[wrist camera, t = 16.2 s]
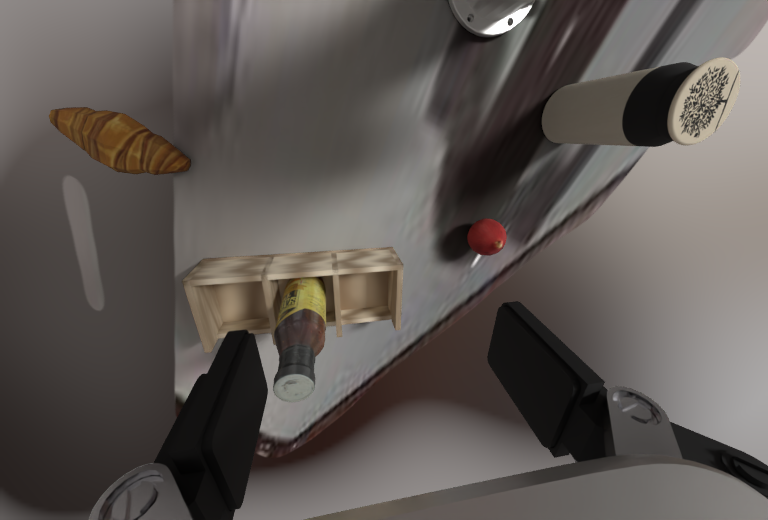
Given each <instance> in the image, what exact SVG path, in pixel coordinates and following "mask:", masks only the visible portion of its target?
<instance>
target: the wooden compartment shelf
mask: <svg viewBox="0 0 768 520" xmlns="http://www.w3.org/2000/svg"><path fill="white" fill-rule="evenodd" d="M315 276H320V277H321V278H322V279H323V281H324V284H325V288H326V326H335V325H336V329H337V337H342V325H344V324H353V323H362V322H372V321H381V320H390V319H392V322H393V325H394V328H395V330H400V327H401V304H402V282H403V263H402V262H401V260H400V259H399V257H398V255H397V254H396V252H395V250H394V249H393V247H387V248H371V249H355V250H338V251H322V252H306V253H290V254H274V255H258V256H241V257H225V258H209V259H203V260H202V261H201V262H200V263H199V264H198V265H197V266H196V267H195V268H194V269H193V270H192V271H191V272H190V273H189V274H188V275H187V276H186V277H185V278H184V280H183V281H182V283H183V286H184V289H185V292H186V295H187V298H188V301H189V305H190V308H191V311H192V314H193V317H194V320H195V323H196V326H197V329H198V332H199V336H200V339H201V342H202V345H203V348H204V351H205V353H208V352H212V350H213V348H214V346H215V344H216V342H217V340H218V338H225V336H226V334H227V333H228V332H229V331H236V330H245V329H246V330H248V332H249V333H253V334H263V333H272V338H273V343H274V345H276V342H275V339H274V331H275V327H276V323H277V319H278V315H279V311H280V307H281V303H282V299H283V295H284V291H285V287H286V285H287V283H288V281H289V279H290V278H302V277H315Z"/></svg>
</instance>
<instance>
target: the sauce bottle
mask: <svg viewBox="0 0 768 520" xmlns="http://www.w3.org/2000/svg"><path fill="white" fill-rule="evenodd" d="M325 330H326V288H325V284H324V281H323V279H322V278H321V277H320V276H315V277H302V278H290V279H289V281H288V283H287V285H286V287H285V291H284V295H283V299H282V303H281V307H280V311H279V315H278V319H277V323H276V327H275V331H274V339H275V342H276V346H277V349H278V353H279V356H280V357H279V367H278V372H277V374H276V375H275V378H274V385H273V391H274V393H275V395H276V396H277V397H278V398H279V399H281V400H283V401H286V402H298V401H301V400H305V399H306V398H308V397H309V396H310V395H311V394H312V393H313V391H314V388H315V374H314V363H315V357H316V356H317V355H318V354H319V353H320V352H321V350H322V349H323V347H324V342H325Z"/></svg>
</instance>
